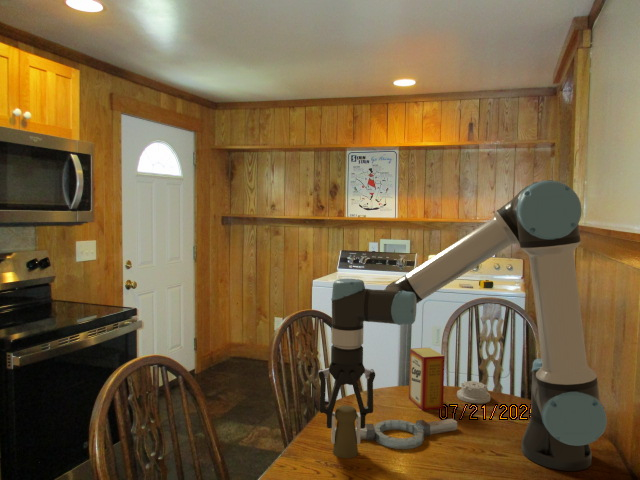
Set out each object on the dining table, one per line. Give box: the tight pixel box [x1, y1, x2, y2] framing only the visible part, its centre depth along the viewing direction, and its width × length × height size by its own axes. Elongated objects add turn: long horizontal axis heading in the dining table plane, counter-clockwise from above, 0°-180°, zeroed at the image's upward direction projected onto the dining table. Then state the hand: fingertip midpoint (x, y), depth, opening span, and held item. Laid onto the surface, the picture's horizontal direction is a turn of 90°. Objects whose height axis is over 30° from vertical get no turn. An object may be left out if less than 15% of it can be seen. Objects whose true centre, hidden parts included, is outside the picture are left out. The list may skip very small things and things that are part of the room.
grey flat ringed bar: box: [335, 418, 458, 450], centre depth 131 cm, size 33×13×3 cm, turn 91°
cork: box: [332, 404, 359, 459], centre depth 122 cm, size 6×6×11 cm
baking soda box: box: [408, 347, 446, 412], centre depth 153 cm, size 10×6×16 cm
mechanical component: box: [456, 380, 491, 404], centre depth 159 cm, size 10×4×10 cm
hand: (345, 440), depth 122 cm, fingers open, 5 cm apart
